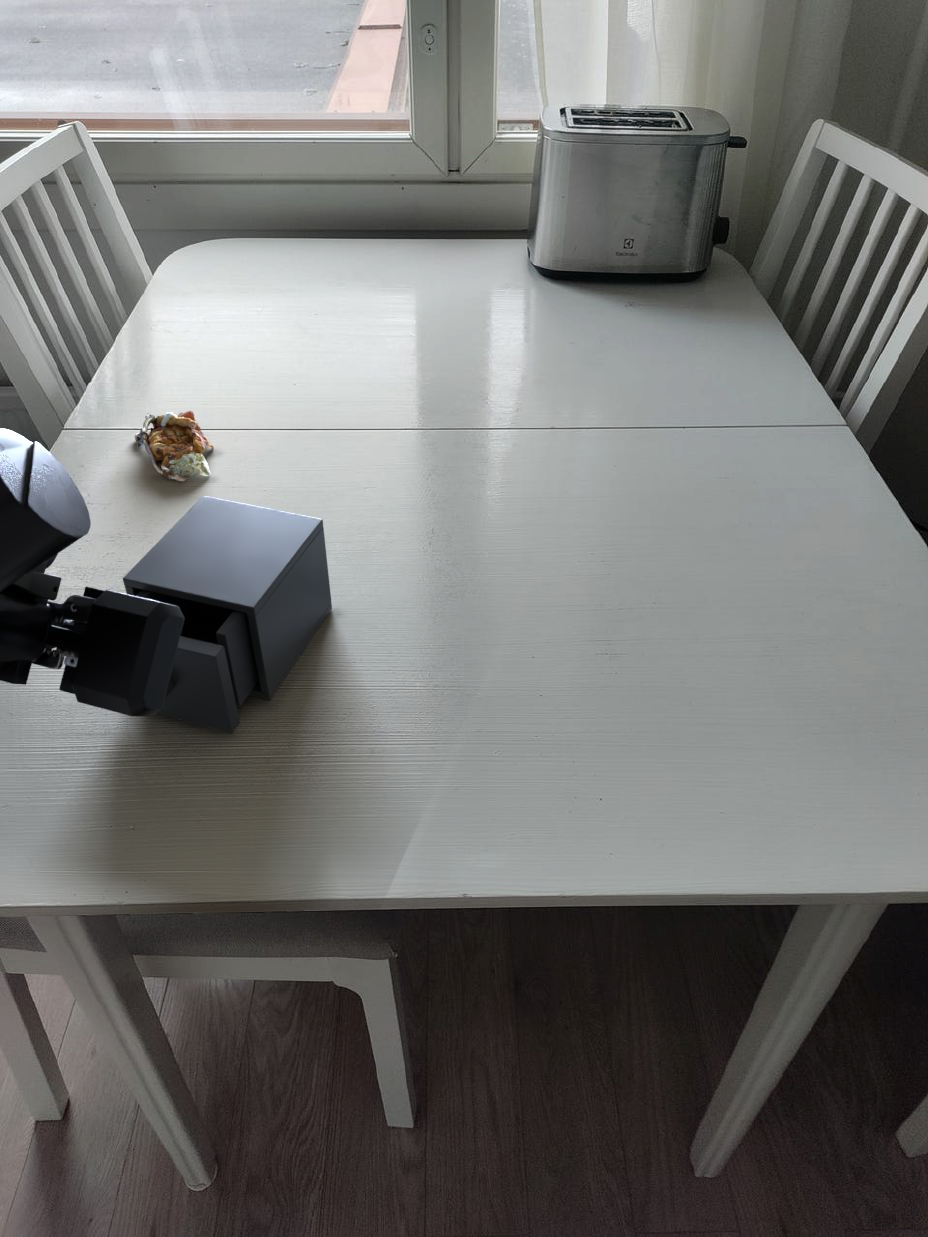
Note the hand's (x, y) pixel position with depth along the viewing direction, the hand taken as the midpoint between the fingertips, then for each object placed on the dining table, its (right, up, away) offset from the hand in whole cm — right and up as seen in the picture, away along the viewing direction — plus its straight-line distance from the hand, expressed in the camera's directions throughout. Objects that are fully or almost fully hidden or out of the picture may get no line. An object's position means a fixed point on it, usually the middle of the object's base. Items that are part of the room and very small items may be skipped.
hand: (103, 639), depth 61 cm
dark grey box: (+5, 0, +19) cm, 20 cm away
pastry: (-7, +19, +42) cm, 47 cm away
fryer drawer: (+3, -3, +14) cm, 15 cm away
